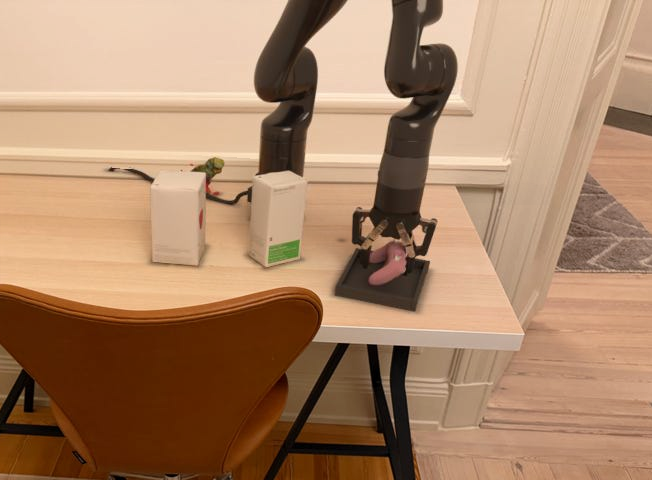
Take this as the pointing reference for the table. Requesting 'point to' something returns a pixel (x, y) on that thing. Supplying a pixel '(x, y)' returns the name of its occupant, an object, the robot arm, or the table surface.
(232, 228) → the table surface
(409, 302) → the tray
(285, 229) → the cosmetic box
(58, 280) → the table surface
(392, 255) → the video game controller
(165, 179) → the rectangular carton
